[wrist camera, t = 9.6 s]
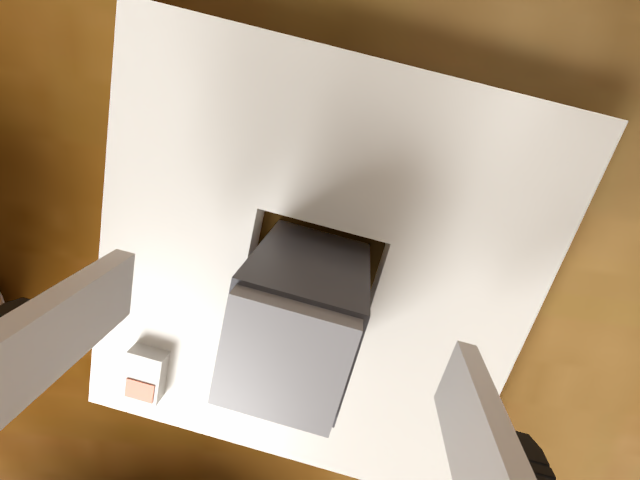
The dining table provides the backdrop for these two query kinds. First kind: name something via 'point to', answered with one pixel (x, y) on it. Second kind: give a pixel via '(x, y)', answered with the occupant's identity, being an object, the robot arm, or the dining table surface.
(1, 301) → the mug
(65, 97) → the dining table surface
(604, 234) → the dining table surface
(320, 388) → the plug
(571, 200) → the socket plate
